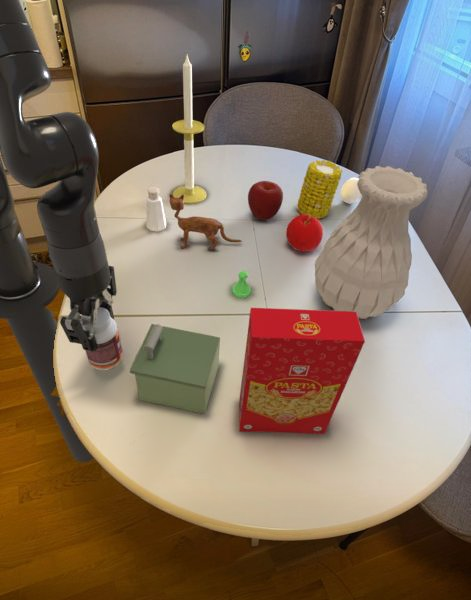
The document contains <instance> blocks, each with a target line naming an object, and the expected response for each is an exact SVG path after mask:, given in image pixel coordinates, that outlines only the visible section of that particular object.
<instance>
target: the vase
mask: <svg viewBox="0 0 471 600" xmlns="http://www.w3.org/2000/svg"><path fill="white" fill-rule="evenodd" d="M357 179H359V180H358V183H357V185H358V189H359V191H360V193H361V195H362V197H361V198H360V200H359V201H358V204H357V206H356V207H355V208H354V209H353V210H352V212H351V213H350V214H349V215H348V216H347V217H346V218H345V219H343V220H342V221H341V222H340V223H339V224H338V226H337V227H336V228H334V230H333V231H332V233H331V234H330V236H329V238H328V239H327V240H326V242H325V243H324V246H323V248H322V251H321V252H320V254H319V255H318V257H317V258H316V260H315V261H314V279H315V287H316V291H317V293H318V295H319V296H320V297H321V298H322V301H323V303H324V304H325V305H327V306H328V307H330V308H333V311H352V312H357V315H358V318H359V319H362V320H364V319H365V320H366V319H368V318H378V317H380V316H382V315H384V313H385V312H387V311H388V310H391V309H392V308H393V307H394V306H395V305H396V304H397V303H398V302H399V301H400V300H401V299H403V297H404V296H405V292H406V289H407V288H408V286H409V278H410V269H411V266H412V259H413V254H412V238H411V236H410V233H409V223H410V213H411V211H412V209H415V208H416V207H418V206H420V205H421V204H422V203H423V202H424V201H425V200H426V199H427V197H428V194H429V193H428V185H427V183H424V182H423V179H422V178H421V177H417V176H415V175H414V173H413V172H411V171H409V172H408V171H405V170H403V168H400V167H398V168H394V167H392V166H388V165H386V166H385V167H384V166H383V167H382V166H380V165H375V167H374V168H371V167H367V168H365V170H364V171H361V172H360V173H359V175H358V178H357Z"/></svg>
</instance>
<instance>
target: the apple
mask: <svg viewBox="0 0 471 600" xmlns="http://www.w3.org/2000/svg"><path fill="white" fill-rule="evenodd" d="M283 201H284V193H283V189H282V188H281V186H279V184H278V183H276V182H273V181H269V180H260V181H257V182H255V183H254V184H252V185H251V187H250V188H249V190H248V194H247V204H248V208H249V210H250V212H251V213H252V215H253V216H254V217H256V218H257V219H258V220H261V221H269V220H271V219H273V218H274V217H275V216H276V215H277V214H278V212H279V211H280V209H281V207H282V204H283Z"/></svg>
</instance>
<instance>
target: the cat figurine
mask: <svg viewBox="0 0 471 600" xmlns="http://www.w3.org/2000/svg"><path fill="white" fill-rule="evenodd" d="M183 199H184V195H182V196H180V197H179V198H177V197H176V198H175V197H174V196H173V194H171V193H170V194H169V205H170V207H171V210H172V211H176V212H175V213H174V218H176V219H177V226H178V227H179V229H181V231H183V237H180V241H182V242H183V241H184V243H183V244H182V245H180V246H179V248H180V249H185V248H187V247H188V245H189V233H190V232H192V233H197V234H198V233H199V234H204V235H205V237H206V239H207V240H208V241H209V242H210V243H212V244H211V247H208V248H207V250H209V251H212V250H214V249H215V248H216V246H218V245H219V241H218V240H217V238H216V236H217V234H218V232H219V234H220V236H221V238H222V239H223V240H224V241H226V242H228V243H242V242H243V240H241V239H232V238H230V237H227V236H226V234H225V228H224V225H223V224H222V222H220V221H219V220H218V219H216V218H211V217H203V216H189V217H180V216H179V214H180V213H181V211H182V210H184V208H185V203H184V200H183Z"/></svg>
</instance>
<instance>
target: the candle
mask: <svg viewBox="0 0 471 600" xmlns="http://www.w3.org/2000/svg"><path fill="white" fill-rule="evenodd" d="M182 88H183V89H182V90H183V119H180V120H177V121H175V122H173V123H172V125H171V126H172V129H173V131H174V132H176V133H179V134H183V149H184V151H183V152H184V153H183V154H184V155H183V156H184V184H185V185H181V186H178V187H176V188H175V189H174V190H173V192H172V195H173V196H174V197H175V198H176V197H177V198H179V197H180V196H182V195H184V199H183V200H184V204H187V205H188V204H189V205H191V204H198V203H201V202H203V201H204V200H205V199H206V198H207V195H208V194H207V192H206V190H205V189H204V188H202V187H201V186H197V185H195V174H194V172H195V164H194V163H195V161H194V158H195V157H194V135H196V134H199V133H202V132H203V131H204V130H205V125H204V123H202V122H201V121H199V120H195V119H193V65H192V63H191V61H190V59H189V55H185V60H184V62H183V64H182Z"/></svg>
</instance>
